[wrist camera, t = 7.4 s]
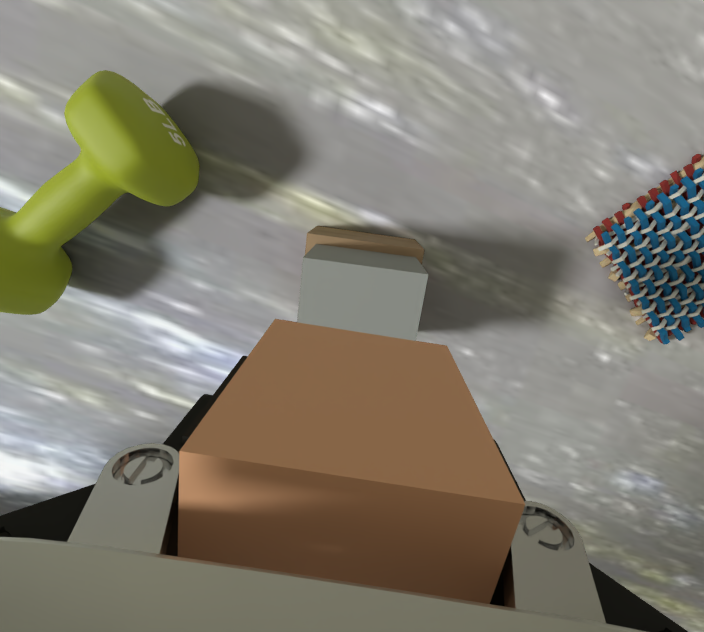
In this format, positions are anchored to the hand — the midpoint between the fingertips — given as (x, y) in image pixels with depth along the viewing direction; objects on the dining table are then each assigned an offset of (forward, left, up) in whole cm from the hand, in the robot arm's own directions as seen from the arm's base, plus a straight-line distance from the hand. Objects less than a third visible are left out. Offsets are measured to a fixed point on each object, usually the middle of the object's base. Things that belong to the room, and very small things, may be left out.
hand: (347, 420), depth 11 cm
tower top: (0, 0, -14) cm, 14 cm away
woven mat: (+6, -22, -19) cm, 30 cm away
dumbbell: (+3, +19, -19) cm, 27 cm away
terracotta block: (0, 0, -1) cm, 1 cm away
